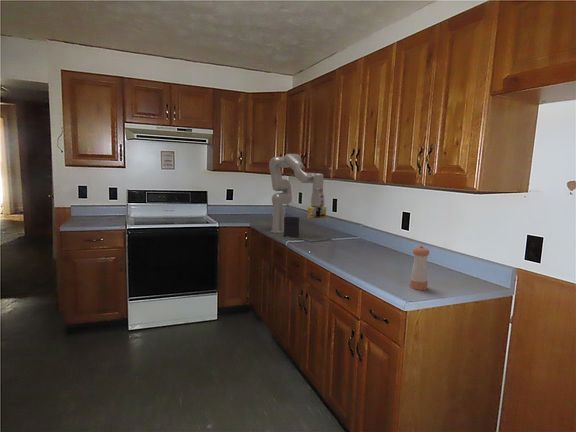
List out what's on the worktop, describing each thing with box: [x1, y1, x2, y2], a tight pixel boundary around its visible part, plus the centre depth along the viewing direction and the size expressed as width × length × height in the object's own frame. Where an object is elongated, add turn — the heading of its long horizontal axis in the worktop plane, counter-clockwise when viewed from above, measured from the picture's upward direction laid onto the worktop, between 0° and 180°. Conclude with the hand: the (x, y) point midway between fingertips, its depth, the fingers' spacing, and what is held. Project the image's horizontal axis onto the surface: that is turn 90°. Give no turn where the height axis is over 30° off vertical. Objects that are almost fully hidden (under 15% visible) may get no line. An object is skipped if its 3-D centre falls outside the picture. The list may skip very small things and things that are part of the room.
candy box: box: [307, 206, 327, 220], centre depth 265 cm, size 16×2×8 cm, turn 124°
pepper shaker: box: [409, 245, 430, 291], centre depth 164 cm, size 7×7×19 cm
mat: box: [300, 235, 332, 244], centre depth 268 cm, size 12×19×1 cm, turn 124°
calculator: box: [283, 216, 300, 238], centre depth 277 cm, size 11×4×15 cm, turn 76°
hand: (316, 215), depth 265 cm, fingers closed on candy box, 2 cm apart
